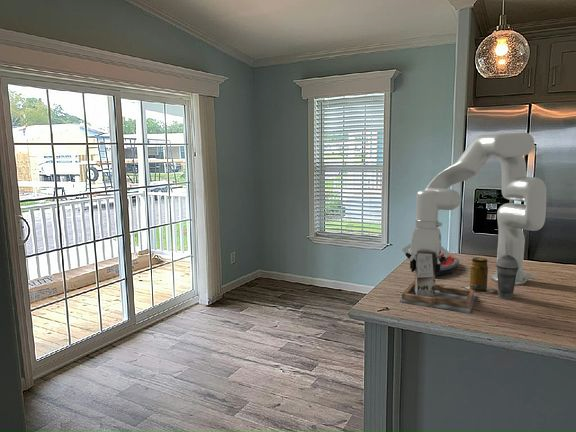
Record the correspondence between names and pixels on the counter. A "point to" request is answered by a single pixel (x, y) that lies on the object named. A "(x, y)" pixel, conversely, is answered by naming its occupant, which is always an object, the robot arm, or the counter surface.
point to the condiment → (479, 276)
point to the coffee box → (425, 273)
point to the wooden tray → (441, 298)
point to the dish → (448, 264)
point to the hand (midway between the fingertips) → (424, 272)
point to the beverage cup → (506, 275)
